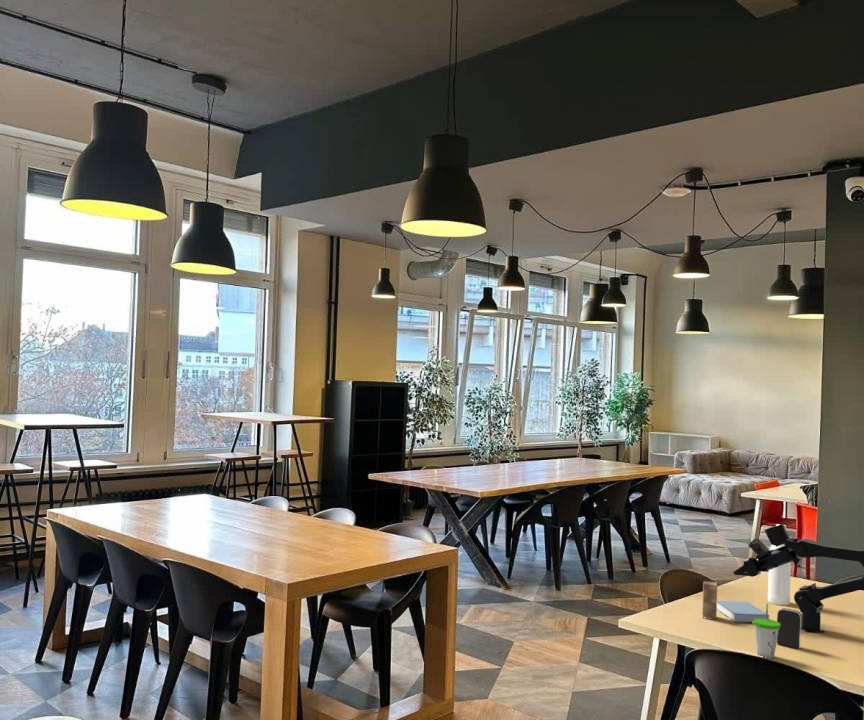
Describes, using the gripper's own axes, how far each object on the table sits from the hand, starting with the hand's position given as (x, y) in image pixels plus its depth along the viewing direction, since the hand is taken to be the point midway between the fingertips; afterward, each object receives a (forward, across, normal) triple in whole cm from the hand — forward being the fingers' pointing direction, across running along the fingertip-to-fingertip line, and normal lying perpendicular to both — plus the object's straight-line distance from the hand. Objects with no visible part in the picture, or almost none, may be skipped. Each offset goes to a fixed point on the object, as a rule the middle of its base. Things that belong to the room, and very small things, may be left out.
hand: (738, 571), depth 283 cm
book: (+5, +2, +14) cm, 15 cm away
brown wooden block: (+12, +14, +11) cm, 21 cm away
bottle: (+3, -29, +16) cm, 33 cm away
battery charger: (-15, +25, +26) cm, 39 cm away
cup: (-13, +42, +25) cm, 50 cm away
